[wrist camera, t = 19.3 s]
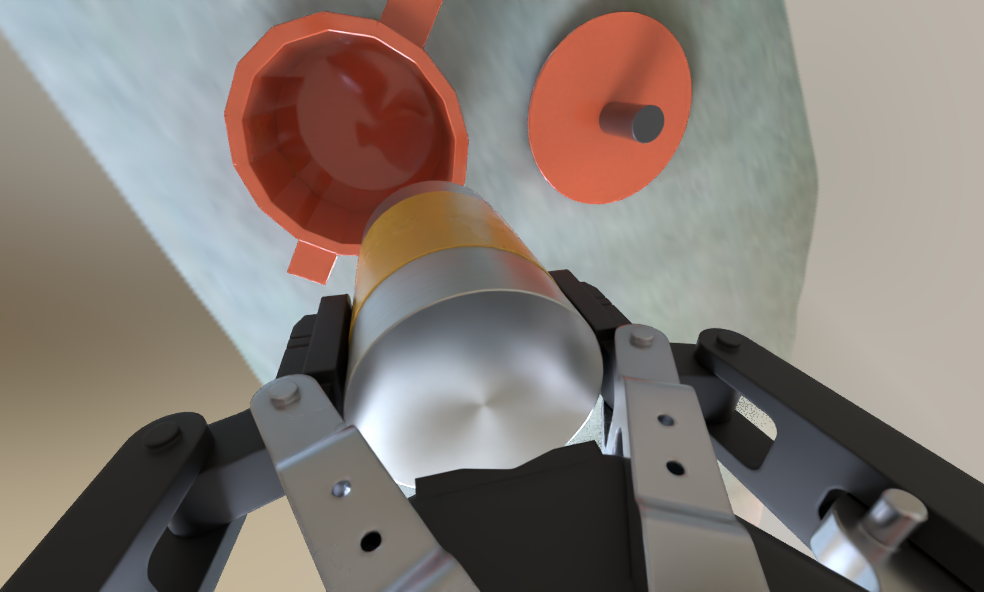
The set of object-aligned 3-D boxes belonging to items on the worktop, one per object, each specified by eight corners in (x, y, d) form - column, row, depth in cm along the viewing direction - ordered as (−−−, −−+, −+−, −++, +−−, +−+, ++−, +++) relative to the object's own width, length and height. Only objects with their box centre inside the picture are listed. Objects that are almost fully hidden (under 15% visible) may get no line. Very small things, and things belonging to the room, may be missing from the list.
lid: (493, 155, 31) (514, 170, 26) (590, -33, 27) (639, -60, 21) (617, 225, 37) (655, 249, 31) (714, 80, 32) (777, 80, 27)
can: (337, 287, 16) (298, 476, 9) (396, 149, 14) (415, 238, 7) (465, 330, 19) (523, 505, 11) (531, 219, 17) (655, 339, 9)
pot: (233, 208, 29) (188, 245, 22) (315, -67, 23) (285, -124, 16) (396, 270, 34) (398, 315, 27) (498, 59, 28) (530, 53, 22)
